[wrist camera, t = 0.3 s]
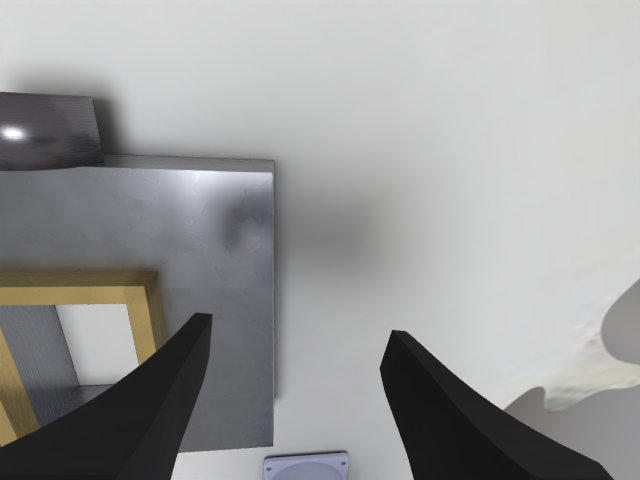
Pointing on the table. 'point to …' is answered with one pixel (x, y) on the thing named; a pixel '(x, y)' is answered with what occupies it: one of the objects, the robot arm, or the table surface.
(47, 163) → the grey panel with frame
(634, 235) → the table surface
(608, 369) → the table surface
